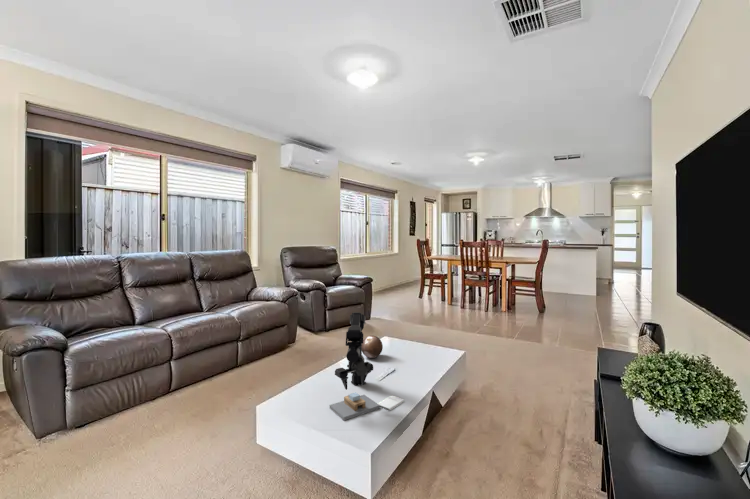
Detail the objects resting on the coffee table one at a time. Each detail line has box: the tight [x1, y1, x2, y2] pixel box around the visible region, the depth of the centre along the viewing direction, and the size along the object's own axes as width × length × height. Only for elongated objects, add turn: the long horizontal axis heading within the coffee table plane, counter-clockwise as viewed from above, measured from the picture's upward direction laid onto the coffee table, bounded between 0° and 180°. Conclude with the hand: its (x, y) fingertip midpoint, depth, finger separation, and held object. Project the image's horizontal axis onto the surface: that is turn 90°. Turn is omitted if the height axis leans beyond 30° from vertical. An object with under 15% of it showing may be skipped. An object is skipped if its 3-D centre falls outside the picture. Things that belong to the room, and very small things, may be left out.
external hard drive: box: [377, 394, 405, 412], centre depth 172 cm, size 2×8×12 cm
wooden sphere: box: [362, 335, 383, 359], centre depth 239 cm, size 15×15×15 cm
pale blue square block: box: [348, 392, 361, 401], centre depth 167 cm, size 4×4×2 cm
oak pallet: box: [343, 394, 365, 411], centre depth 167 cm, size 6×10×3 cm, turn 34°
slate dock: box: [329, 394, 381, 421], centre depth 167 cm, size 20×14×2 cm
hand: (354, 387), depth 167 cm, fingers open, 9 cm apart
